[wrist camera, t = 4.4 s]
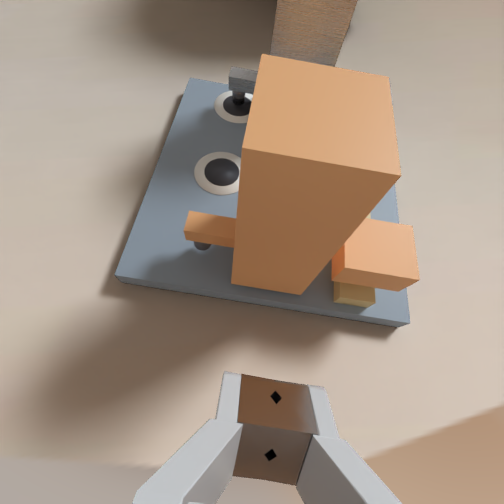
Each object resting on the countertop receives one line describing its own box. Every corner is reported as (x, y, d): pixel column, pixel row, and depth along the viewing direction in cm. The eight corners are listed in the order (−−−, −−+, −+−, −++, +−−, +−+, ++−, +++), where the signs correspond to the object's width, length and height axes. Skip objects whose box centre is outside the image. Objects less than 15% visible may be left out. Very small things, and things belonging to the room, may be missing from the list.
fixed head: (225, 122, 22) (226, -64, 13) (233, 89, 24) (240, -94, 15) (370, 147, 22) (470, -17, 13) (367, 113, 24) (455, -52, 15)
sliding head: (183, 275, 16) (131, 128, 7) (199, 216, 18) (174, 37, 9) (383, 308, 16) (586, 207, 7) (379, 247, 18) (537, 104, 9)
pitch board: (121, 282, 17) (107, 268, 15) (191, 91, 25) (188, 65, 23) (398, 327, 17) (421, 319, 15) (379, 125, 25) (393, 102, 23)
